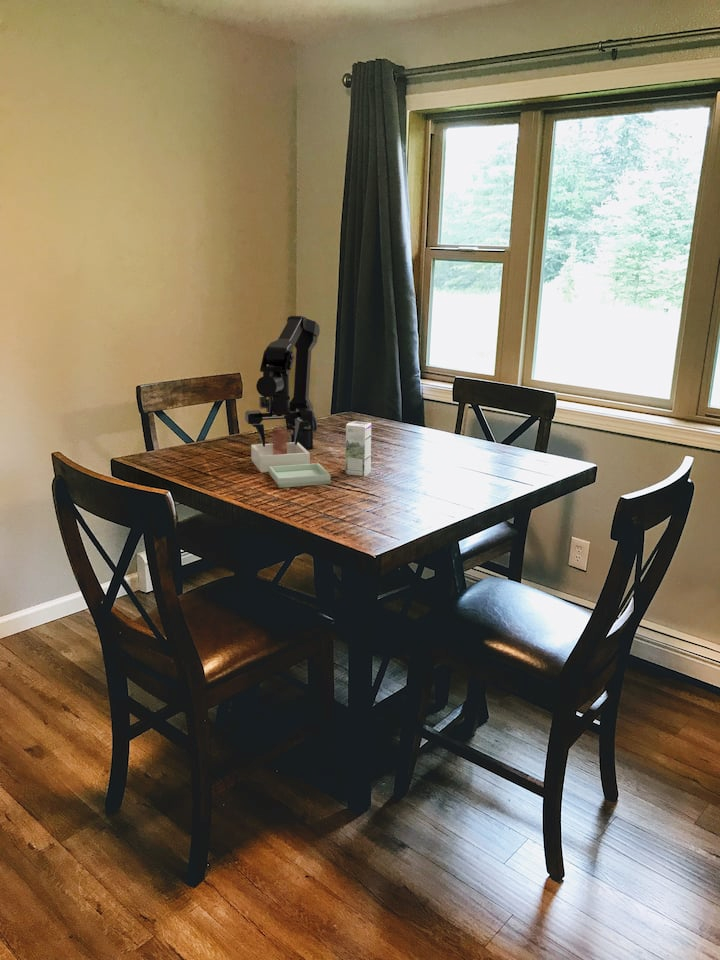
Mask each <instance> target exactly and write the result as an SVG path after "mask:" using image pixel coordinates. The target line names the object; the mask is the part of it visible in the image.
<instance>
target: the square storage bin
mask: <svg viewBox="0 0 720 960" xmlns="http://www.w3.org/2000/svg"><path fill="white" fill-rule="evenodd" d="M250 451H251V452H250V454H251V455H250V456H251V458H250V459H251V461H252V463H253V464H254V466H256V468H257V469H258V472H260V473H269V467H272V466H287V465H301V464H311V453H310V452H309V451H308V450H306V449H305V448H304V447H303V446H302V445H301V444H300V443H297V445H295V444H294V442H290V441H289V442H287V454H278V455H273V443H265V447H263V445H262V443H260V444H257V443H256V444H251V445H250Z"/></svg>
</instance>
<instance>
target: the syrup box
mask: <svg viewBox="0 0 720 960" xmlns="http://www.w3.org/2000/svg"><path fill="white" fill-rule="evenodd" d="M371 450H372V422H368V421H367V422H365V421H356V420H355V421H353V420H351V421H349V422H348V423H347V424H345V475H351V476H359V477H367V476H368V475H369V474H370V473H371V469H372V468H371V467H372V466H371V465H372V464H371V461H372V459H371V457H372V455H371V452H372V451H371Z"/></svg>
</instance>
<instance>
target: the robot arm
mask: <svg viewBox="0 0 720 960" xmlns="http://www.w3.org/2000/svg"><path fill="white" fill-rule="evenodd" d="M286 320H287V321H286V323H285V325H284V327H283V329H282V330H281V333H280V335H279V336H278V338H277V340H274V341H271V342H270V343H269V344H268V345H267V346H266V348H265V349H264V350H263V356H262V359H261V363H260V364H261V365H260V368H259V372H260V373H261V372H262V376H261V377H260V378H259V379H258V380H257V381H256V386H255V387H256V391H257V392H258V394H259V395H260V397H258V399H259V404H258V405H259V409H265V410H266V412H261V411H260V410H259V409H256V410H255V409H254V410H246V411H245V412H244V420H245V422H246V423H247V424H249V425H251V427H253V428H255V429H256V431H257V433H258V437H259V439H260V441H261V444H262V445H263V447H265V444H266V437H265V427H264V426H265V425H264V424H263V421H267V420H285V426H286V430H287V431H290V433H289V442H294V444H295V445H297V443H300V444H301V445H302V446H303V447H304V448H305V449H306V450H307V451H308V450H315V447H314V432H316V431H318V420H317V418H316V415H315V413H314V406H313V404H312V402H311V400H310V398H309V397H310V380H311V378H310V377H311V363H312V350H313V349H314V348H315V346H316V345H317V344H318V338H319V336H320V333H321V332H320V331H321V330H320V325H319V324H318V322H316V320H312V319H309V318H307V317H306V316H304V315H289V316H288V317H287V319H286ZM294 348H295V350H296V351H295V355H294V352H293V349H294ZM294 360H295V365H294V381H293V384H294V385H293V397H292V398H291V395H290V372H291V371H290V370H292V367H293V364H294Z"/></svg>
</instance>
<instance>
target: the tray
mask: <svg viewBox="0 0 720 960" xmlns="http://www.w3.org/2000/svg"><path fill="white" fill-rule="evenodd" d="M268 473H269V475H270V477H271V478H272V479H273V480H274V482H275V483H276V485H277V488H279V489H280V488H282V489H283V488H291V487H292V488H293V487H294V488H295V487H304V486H307V487H309V486H317V485H330V484H331V477H332V476H331V473H329V472H328V471H327V470H326V469H325V468H324V467H323V466H322V465H321V464H320V463H318V462H317V463H310V464H301V465H287V466H272V467H269V472H268Z"/></svg>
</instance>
